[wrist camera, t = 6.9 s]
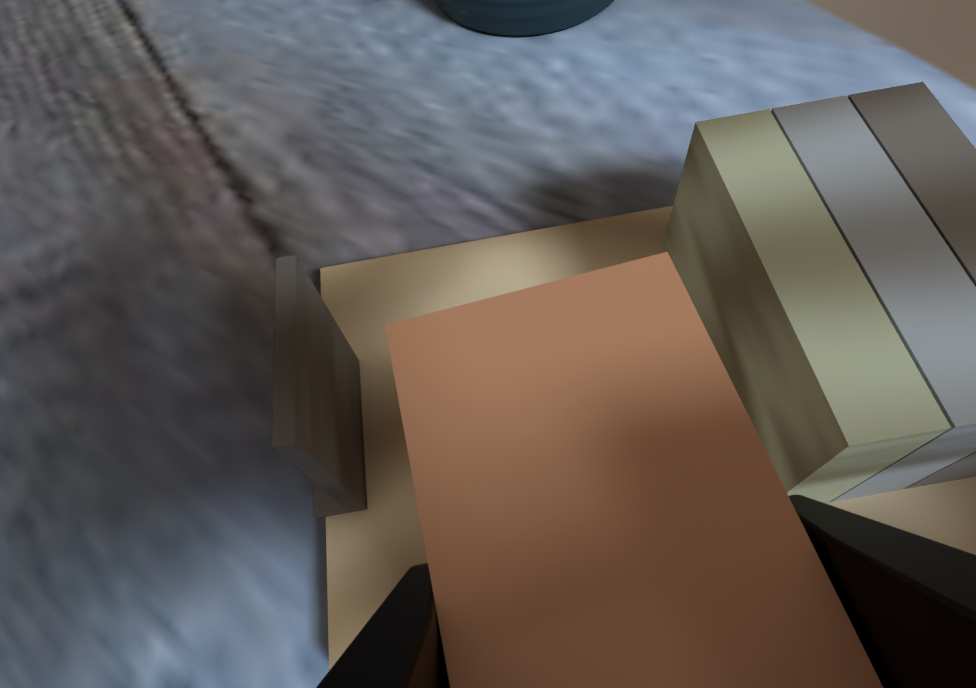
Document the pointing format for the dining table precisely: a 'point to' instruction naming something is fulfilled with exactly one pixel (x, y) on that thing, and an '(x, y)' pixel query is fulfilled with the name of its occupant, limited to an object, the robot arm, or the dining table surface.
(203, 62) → the dining table surface
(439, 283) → the wooden board with blocks
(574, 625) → the brown rectangular block
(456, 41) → the dining table surface
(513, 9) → the canister
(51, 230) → the dining table surface
